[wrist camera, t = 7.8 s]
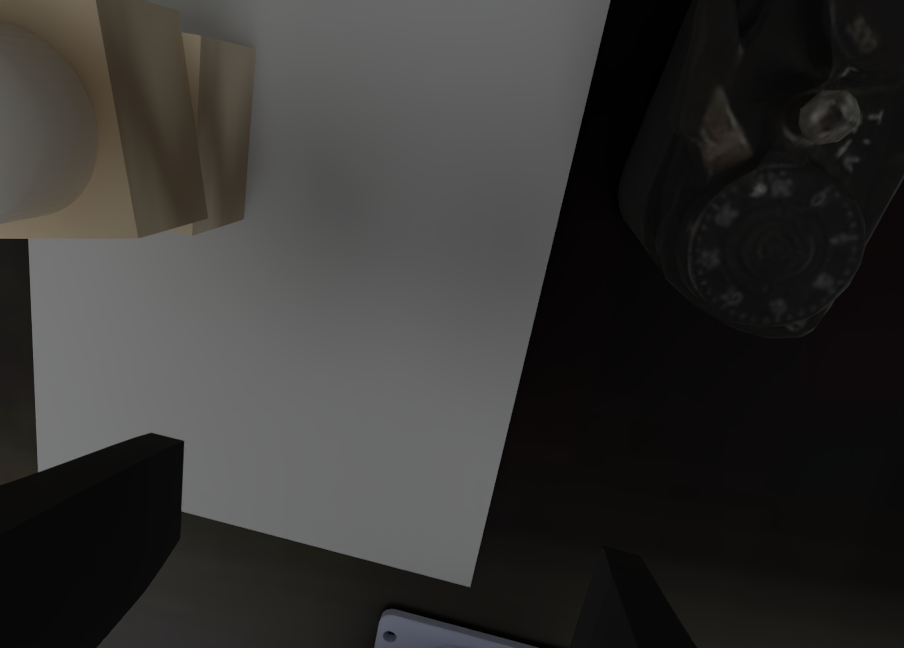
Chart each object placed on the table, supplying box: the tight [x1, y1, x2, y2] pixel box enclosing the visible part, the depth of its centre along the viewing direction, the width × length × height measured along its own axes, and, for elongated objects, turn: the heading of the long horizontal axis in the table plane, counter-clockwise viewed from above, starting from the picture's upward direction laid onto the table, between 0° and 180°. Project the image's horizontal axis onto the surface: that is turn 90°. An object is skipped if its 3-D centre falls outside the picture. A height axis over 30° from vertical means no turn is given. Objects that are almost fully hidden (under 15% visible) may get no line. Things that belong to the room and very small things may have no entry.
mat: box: [28, 0, 610, 587], centre depth 20 cm, size 20×17×1 cm
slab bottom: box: [167, 32, 256, 236], centre depth 18 cm, size 5×5×3 cm
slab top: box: [0, 0, 208, 239], centre depth 15 cm, size 5×5×3 cm
